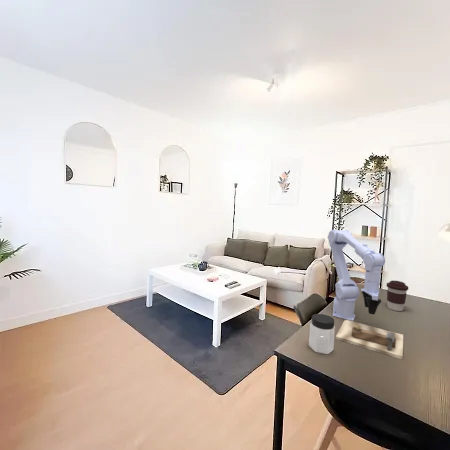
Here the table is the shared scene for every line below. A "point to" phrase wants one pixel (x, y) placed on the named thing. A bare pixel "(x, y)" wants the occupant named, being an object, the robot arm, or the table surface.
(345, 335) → the plate
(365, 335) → the brown long round-headed piece
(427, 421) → the table surface
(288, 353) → the table surface
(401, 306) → the coffee cup
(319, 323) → the jar
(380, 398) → the table surface
